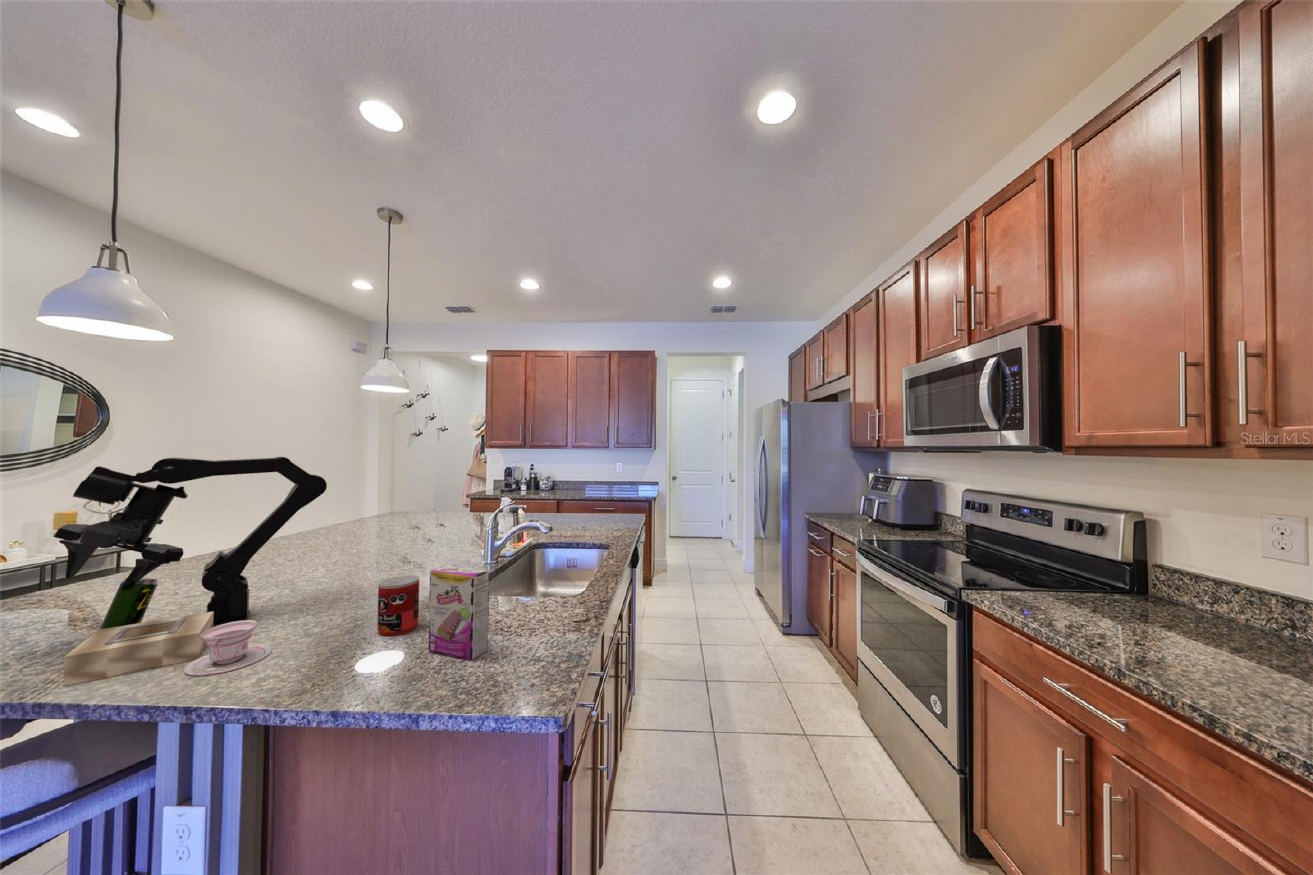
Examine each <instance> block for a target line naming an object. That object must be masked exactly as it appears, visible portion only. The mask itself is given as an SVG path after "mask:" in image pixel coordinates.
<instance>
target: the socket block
mask: <svg viewBox="0 0 1313 875" xmlns="http://www.w3.org/2000/svg"><path fill="white" fill-rule="evenodd" d="M213 619H214V611H212V612H207V611H206V612H202V613H201V612H200V613H195V614H190V615H181V616H176V617H175V616H174V617H169V618H163V619H158V620H157V619H155V620H151V621H145V622H141V623H137V624H131V625H125V626H119V627H112V628H106V629H100V628H99V629H100V630H99V629H97V630H96V631H95V632H93V634H90V636H88V637H87V638H86V639H85V640H84V641H82V642H81V643H80V644H78V645H77V646H76V647H75V648H73V650H70V652H69V653H67V654H66V655H65V656H64V661H63V663H64V664H63V679H62V680H63V681H62V687H69V686H72V685H77V684H82V683H86V682H87V683H88V682H91V681H92V682H93V681H97V680H103V679H107V678H111V677H115V676H116V675H117V676H121V674H122V675H126V674H125V673H127V674H131V673H135V672H136V673H137V672H141V671H146V670H151V669H155V668H160V667H165V665H166V666H170V664H171V665H176V664H180V663H185V662H189V661H194V660H196V659H198V658H200V657H201V655H202V654H203V652H204V650H205V648H206V647H207V645H206V643H207V642H205V641H203V640H202V639H201V634H202V633H203V632H205V631H206V630H208V629H211V628H213V627H214V625H213ZM117 676H116V677H117Z"/></svg>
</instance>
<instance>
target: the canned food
mask: <svg viewBox="0 0 1313 875" xmlns="http://www.w3.org/2000/svg"><path fill="white" fill-rule="evenodd" d="M377 588H378V590H377V591H378V592H377V594H378V595H377V632H378V634H379V635H380V636H383V637H394V636H400V635H404V634H407V633H409V632H411V631H414V630H415V629H416V628H417V627H418V624H419V614H420V613H419V612H420V610H419V609H420V608H419V607H420V606H419V605H420V603H419V602H420V578H419V576H415V575H400V576H394V577H389V578H386V579H383V580H381V581H379V583H378V587H377Z"/></svg>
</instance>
